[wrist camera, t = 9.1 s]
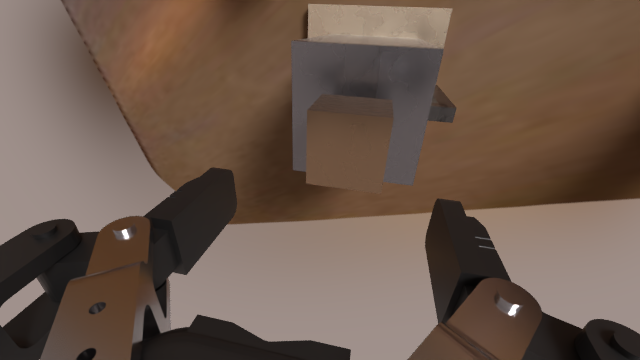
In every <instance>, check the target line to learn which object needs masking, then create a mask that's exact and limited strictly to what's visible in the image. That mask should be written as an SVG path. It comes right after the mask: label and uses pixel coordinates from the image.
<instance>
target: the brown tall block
mask: <svg viewBox="0 0 640 360" xmlns="http://www.w3.org/2000/svg"><path fill="white" fill-rule="evenodd" d="M393 119H394V116H393V104H392V100H389V99H377V98H365V97H353V96H341V95H329V94H322V95H321V96H320V97H319V98H318V99H317V100H316V101H315V102H314V103H313V104H312V105H311V106H310V108H309V109H308V110H307V150H306V184H312V185H320V186H327V187H334V188H342V189H349V190H356V191H364V192H371V193H379V194H381V191H382V185H383V179H384V173H385V167H386V161H387V155H388V149H389V143H390V137H391V131H392V125H393Z"/></svg>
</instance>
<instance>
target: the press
mask: <svg viewBox="0 0 640 360" xmlns="http://www.w3.org/2000/svg"><path fill="white" fill-rule="evenodd" d="M451 12H452V9H451V8H420V7H388V6H356V5H325V4H308V38H306V39H300V40H294V41H291V44H292V130H293V170H296V171H304V172H306V150H307V110H308V109H309V108H310V106H311V105H312V104H313V103H314V102H315V101H316V100H317V99H318V98H319V97H320V96H321V95H322V94H329V95H341V96H353V97H365V98H377V99H389V100H392V104H393V116H394V119H393V125H392V131H391V137H390V143H389V149H388V155H387V161H386V167H385V173H384V179H383V182H389V183H397V184H405V185H412V186H413V182H414V177H415V173H416V169H417V164H418V160H419V155H420V151H421V147H422V142H423V138H424V133H425V129H426V125H427V120H429V121H440V122H451V123H452V122H453V119H454V115H455V111H456V107H455V106H454V105H453V103H452V102H451V101H450V100H449V99H448V98H447V96H446V95H445V94H444V93H443V92H442V90H441V89H440V88H439V87H438V86H437V85H436V81H437V76H438V72H439V68H440V63H441V59H442V55H443V50H444V49H443V47H444V43H445V39H446V34H447V30H448V25H449V21H450V17H451Z"/></svg>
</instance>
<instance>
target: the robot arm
mask: <svg viewBox="0 0 640 360" xmlns="http://www.w3.org/2000/svg"><path fill="white" fill-rule="evenodd" d="M236 207H237V199H236V192H235V184H234V176H233V173H232V171H231V170H227V169H220V168H210V169H209V170H208V171H207V172H205V173H204V174H203V175H202V176H200V177H198V178H196V179H194V180H191V181H189V182H187V183H185V184H184V185H183V186H181V187H180V188H179V189H178V190H177V191H175V192H174V193H173V194H171V195H170V197H168V198H166V199H165V200H164V201H162V202H161V203H160V204H159V205H157V206H156V207H155V208H153V209H152V210H151V211H150V212H148V213H147V214H146V215H145V216H129V217H125V218H121V219H118V220H115V221H113V222H111V223H109V224H108V225H106V226H105V227H104V228H103V229H101V231H100V232H85V233H79V231H78V229H77V227H76V225H75V223H74V222H73V221H71V220H68V219H57V220H51V221H47V222H43V223H40V224H38V225H36V226H33V227H31V228H29V229H27V230H25V231H24V232H22V233H20V234H19V235H17V236H15V237H14V238H12V239H10V240H9V241H7V242H5V243H4V244H2V245H1V246H0V307H1V306H2V304H3V303H4V302H5V301H7V300H8V299H9V298H10V297H12V296H13V295H14V294H16V293H17V292H18V291H19V290H21V289H22V288H23V287H25V286H26V285H27V284H28V283H30V282H31V281H33V280H34V279H35V278H37V279H38V281H39V282H40V284H41V285H42V287H43V289H44V290H45V292H44V293H43V294H42V295H41V296H40V297H38V298H37V299H36V300H35V301H34V302H32V303H31V304H30V305H29V306H28V307H26V308H25V309H24V310H23V311H22V312H20V313H19V314H18V315H17V316H16V317H15V318H13V319H12V320H11V321H10V322H8V323H7V324H6V325H5V326H4V327H1V326H0V360H39V359H40V360H350V352H351V350H350V349H346V348H341V347H337V346H333V345H328V344H324V343H320V342H315V341H311V340H310V341H281V342H280V341H279V342H268V341H264V340H262V339H261V338H259V337H257V336H255V335H254V334H252V333H250V332H248V331H247V330H244V329H243V328H241V327H240V326H238V325H236V324H234V323H232V322H228V321H223V320H219V319H215V318H210V317H206V316H201V315H197V316H196V318H195V319H194V321H193V322H192V324H191V326H190V327H185V328H178V329H174V330H171V323H170V283H169V279H168V277H169V275H170V274H171V273H172V272H175V273H179V274H184V275H187V273H188V272H189V271H190V270H191V268H192V267H193V266H194V265H195V263H196V262H197V261H198V260H199V258H200V257H201V256H202V255H203V253H204V252H205V251H206V250H207V249H208V247H209V246H210V245H211V244H212V242H213V241H214V240H215V239H216V237H217V236H218V235H219V234H220V232H221V231H222V229H224V227H225V226H226V225H227V224H228V222H229V221H230V220H231V219H232V217H233V216H234V214H235V212H236ZM425 248H426V253H427V260H428V266H429V272H430V278H431V284H432V289H433V295H434V301H435V307H436V313H437V319H438V325H437V326H436V327H435V328H434V329H433V330H432V331H431V333H430V334H429V335H428V336H427V337H426V338H425V340H424V341H423V342H422V343H421V344H420V345H419V347H418V348H417V349H416V350H415V352H413V354H412V355H411V356H410V357H409V358H408V359H407V360H640V334H638V333H637V332H635V331H633V330H631V329H630V328H628V327H626V326H623V325H621V324H618V323H616V322H613V321H609V320H604V319H594V320H591V321H589V322H588V323H587V325H586V326H585V327H584V328H583V329H581V328H579V327H576V326H574V325H572V324H569V323H567V322H564V321H562V320H559V319H557V318H554V317H552V316H550V315H548V314H545V313H543V312H542V310H541V307H540V306H539V304H538V302H537V301H536V300H535V298H533V296H532V295H531V294H530V293H528V292H527V291H526V290H525V289H523V288H522V287H520V286H518V285H516V284H515V283H512V282H511V280H510V278H509V276H508V274H507V272H506V270H505V268H504V266H503V263H502V261H501V259H500V257H499V255H498V253H497V251H496V250H495V247H494V245H493V243H492V241H491V240H490V236H489V234H488V232H487V230H486V228H485V227H484V226H483V225H482V224H481V223H480V222H479V221H478V220H477V219H475V218H474V217H467V216H466V214H465V212H464V209H463V207H462V204H461V202H459V201H453V200H445V199H437V200H436V202H435V205H434V208H433V212H432V215H431V219H430V222H429V226H428V229H427V233H426V241H425Z"/></svg>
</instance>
